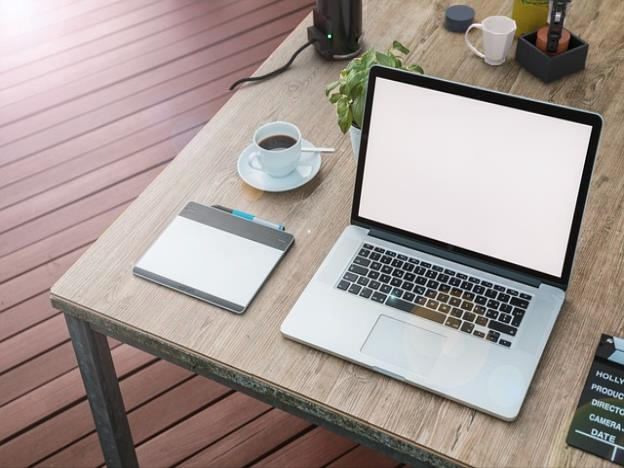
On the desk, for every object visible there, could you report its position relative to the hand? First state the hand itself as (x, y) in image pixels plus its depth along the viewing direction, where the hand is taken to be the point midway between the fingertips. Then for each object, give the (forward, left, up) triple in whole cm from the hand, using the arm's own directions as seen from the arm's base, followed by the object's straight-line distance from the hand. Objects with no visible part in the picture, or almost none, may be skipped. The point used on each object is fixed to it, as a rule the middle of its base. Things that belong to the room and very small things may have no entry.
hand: (552, 42), depth 165 cm
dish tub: (0, 0, -5) cm, 5 cm away
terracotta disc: (0, 0, -1) cm, 1 cm away
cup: (-9, +8, -5) cm, 13 cm away
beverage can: (+5, +11, -5) cm, 14 cm away
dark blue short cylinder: (-6, +22, -5) cm, 23 cm away
